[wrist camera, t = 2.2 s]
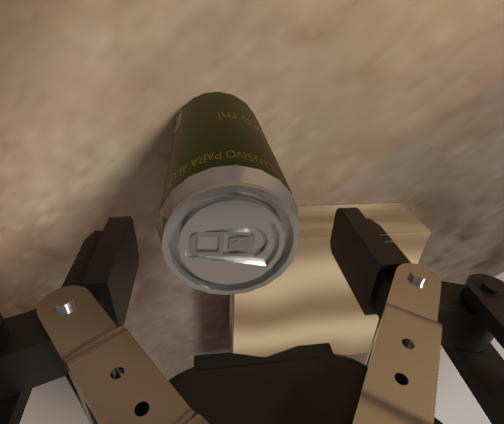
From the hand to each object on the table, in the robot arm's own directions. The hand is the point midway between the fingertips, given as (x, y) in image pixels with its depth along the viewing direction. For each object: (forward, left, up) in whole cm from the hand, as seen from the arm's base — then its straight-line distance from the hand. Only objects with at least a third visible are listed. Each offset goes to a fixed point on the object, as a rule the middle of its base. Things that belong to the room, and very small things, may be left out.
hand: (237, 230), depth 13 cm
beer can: (0, 0, -11) cm, 11 cm away
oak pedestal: (+13, +8, -11) cm, 18 cm away
